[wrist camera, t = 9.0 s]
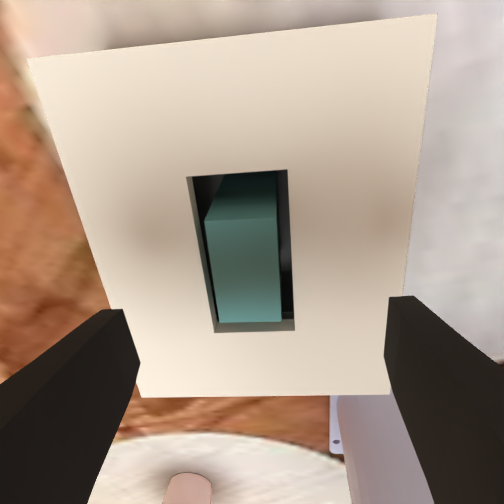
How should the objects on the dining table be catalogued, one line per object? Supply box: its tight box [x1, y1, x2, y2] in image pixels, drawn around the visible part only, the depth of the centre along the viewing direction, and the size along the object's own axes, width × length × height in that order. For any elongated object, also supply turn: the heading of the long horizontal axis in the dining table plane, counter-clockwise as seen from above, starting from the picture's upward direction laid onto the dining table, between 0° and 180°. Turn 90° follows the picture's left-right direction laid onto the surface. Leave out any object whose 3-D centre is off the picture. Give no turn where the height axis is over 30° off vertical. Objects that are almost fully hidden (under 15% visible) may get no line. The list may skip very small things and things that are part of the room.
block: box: [204, 170, 281, 323], centre depth 16 cm, size 4×2×6 cm, turn 4°
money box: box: [26, 14, 438, 398], centre depth 17 cm, size 15×12×6 cm
